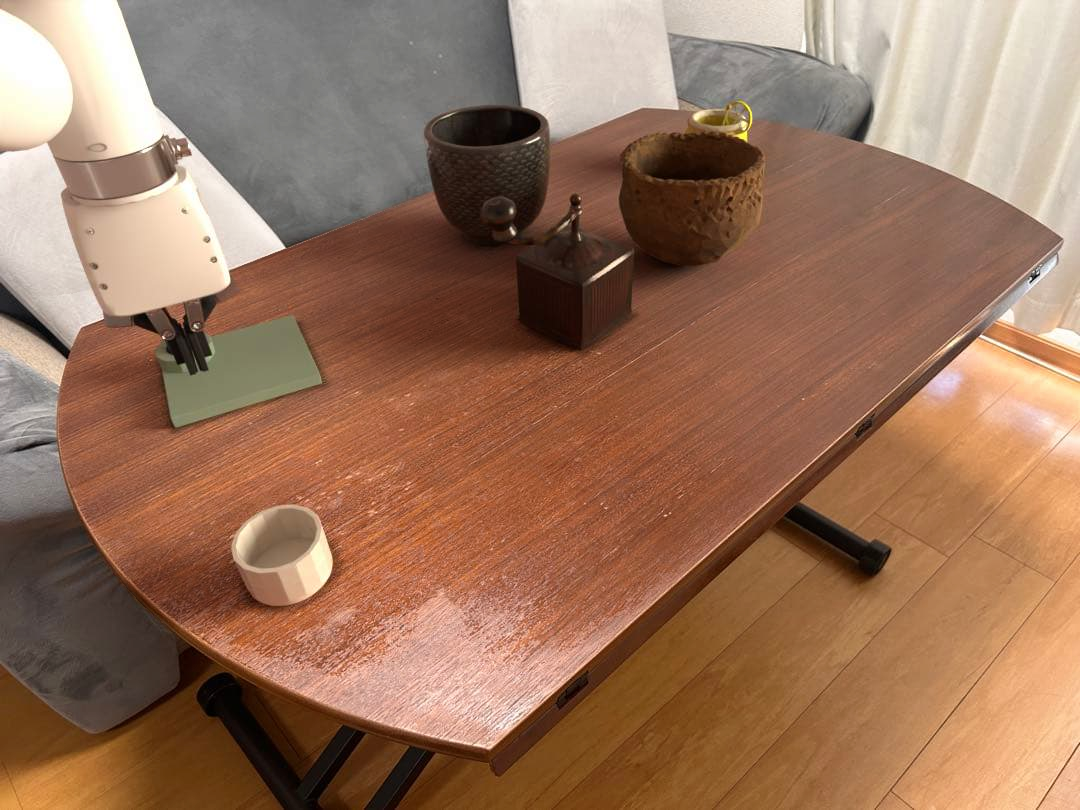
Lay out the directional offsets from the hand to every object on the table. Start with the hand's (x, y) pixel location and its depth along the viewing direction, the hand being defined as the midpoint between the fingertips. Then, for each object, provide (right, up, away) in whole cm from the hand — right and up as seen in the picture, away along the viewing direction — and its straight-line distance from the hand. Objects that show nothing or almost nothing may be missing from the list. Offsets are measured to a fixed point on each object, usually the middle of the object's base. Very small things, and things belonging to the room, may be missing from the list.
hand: (197, 364), depth 68 cm
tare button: (-11, +3, +20) cm, 23 cm away
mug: (+60, +37, +61) cm, 93 cm away
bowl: (+51, +17, +38) cm, 66 cm away
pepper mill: (+33, +6, +26) cm, 42 cm away
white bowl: (+9, -18, -2) cm, 20 cm away
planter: (+24, +22, +45) cm, 56 cm away
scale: (-4, 0, +21) cm, 21 cm away
